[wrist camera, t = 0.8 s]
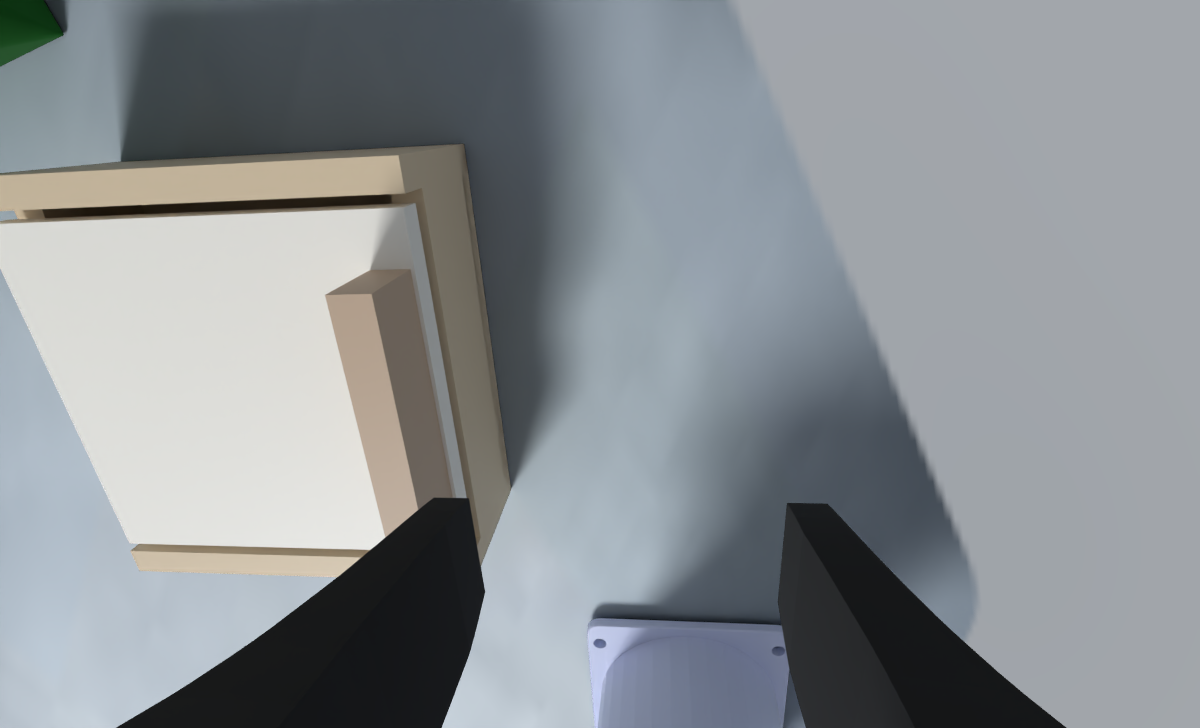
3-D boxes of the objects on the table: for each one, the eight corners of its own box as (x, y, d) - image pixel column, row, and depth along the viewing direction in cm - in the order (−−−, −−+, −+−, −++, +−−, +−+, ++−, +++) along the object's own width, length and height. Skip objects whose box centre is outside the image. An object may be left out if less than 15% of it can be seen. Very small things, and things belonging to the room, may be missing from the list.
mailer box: (511, 489, 21) (474, 581, 17) (236, 485, 23) (139, 570, 18) (464, 143, 17) (398, 155, 13) (118, 161, 18) (-47, 177, 14)
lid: (473, 536, 18) (442, 606, 15) (148, 528, 19) (69, 592, 16) (415, 202, 14) (361, 223, 11) (9, 219, 15) (-122, 241, 12)
